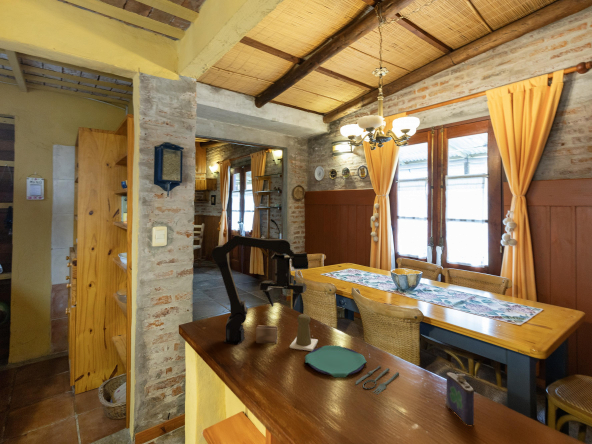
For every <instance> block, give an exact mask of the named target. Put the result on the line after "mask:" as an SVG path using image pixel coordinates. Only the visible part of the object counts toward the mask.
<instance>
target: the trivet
mask: <svg viewBox="0 0 592 444" xmlns="http://www.w3.org/2000/svg"><path fill="white" fill-rule="evenodd" d="M296 339H297V336H296V337H295V338H294V340H292V342H291V344H290V345H289V349H294V350H295V349H296V350H301V351H303V350H304V351H309V352H311V351H313V350H314V349H316V348H315V347H316V346H317V344H318V342H319V339H316V338H311V344H310V345H308V346H300V345H297V344H296Z"/></svg>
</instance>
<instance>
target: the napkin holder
mask: <svg viewBox="0 0 592 444" xmlns="http://www.w3.org/2000/svg"><path fill="white" fill-rule="evenodd" d="M255 330H256V331H255V333H256V334H255V335H256V336H255V337H256V339H255V342H256V344H271V345H276V344H277V343H278V326H277V325H259V324H258V325H257V327H256V329H255Z"/></svg>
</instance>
